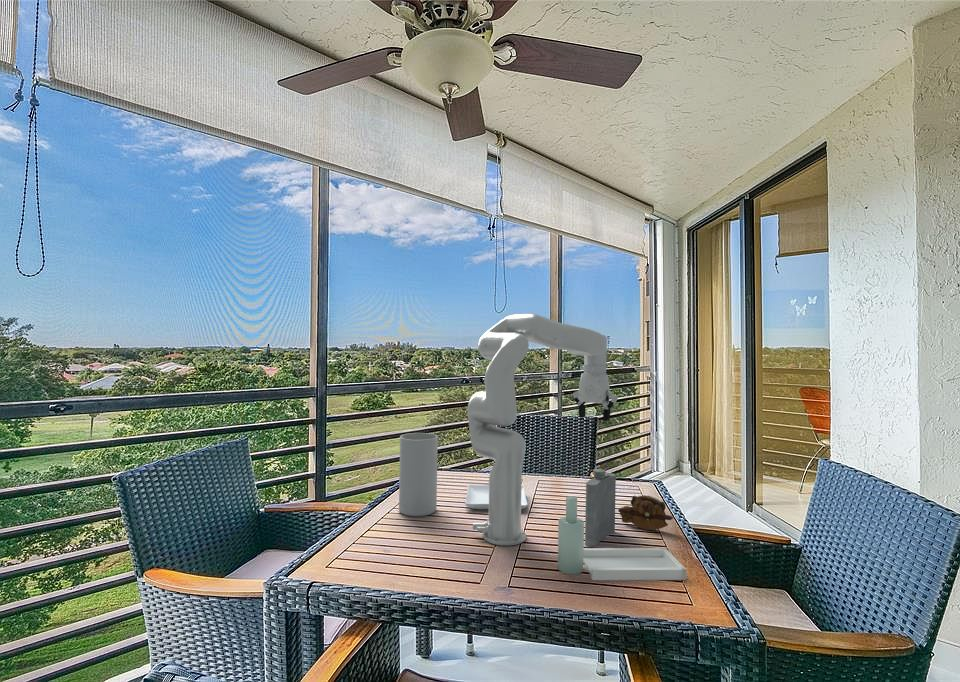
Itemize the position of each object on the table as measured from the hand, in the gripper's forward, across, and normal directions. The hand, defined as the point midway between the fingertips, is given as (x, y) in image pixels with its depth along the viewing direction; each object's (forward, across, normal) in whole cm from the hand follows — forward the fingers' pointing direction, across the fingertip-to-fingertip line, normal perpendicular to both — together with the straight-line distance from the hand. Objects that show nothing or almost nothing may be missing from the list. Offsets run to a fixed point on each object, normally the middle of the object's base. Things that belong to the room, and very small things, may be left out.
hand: (593, 418), depth 177 cm
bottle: (+31, +22, -45) cm, 59 cm away
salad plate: (+32, -26, -21) cm, 46 cm away
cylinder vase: (+31, -38, -47) cm, 68 cm away
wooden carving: (+31, +22, -5) cm, 39 cm away
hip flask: (+31, +16, -22) cm, 42 cm away
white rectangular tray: (+31, +32, -34) cm, 56 cm away
